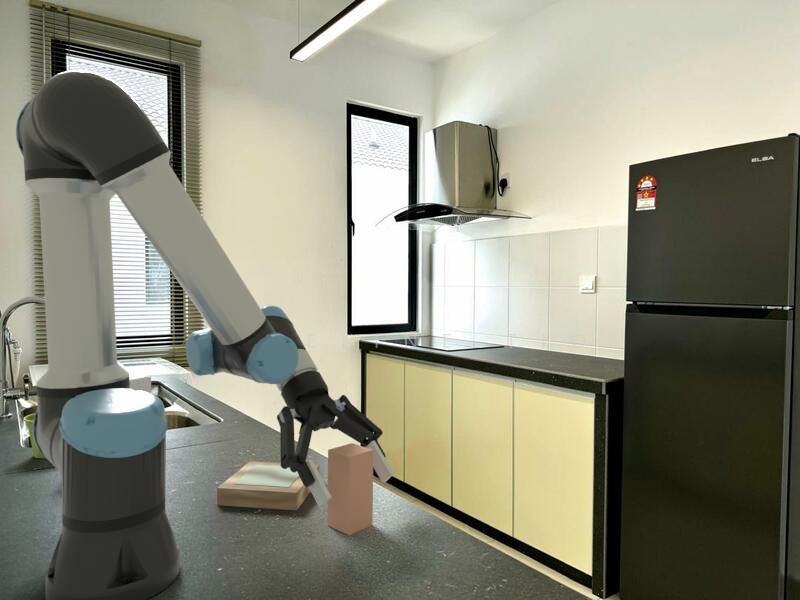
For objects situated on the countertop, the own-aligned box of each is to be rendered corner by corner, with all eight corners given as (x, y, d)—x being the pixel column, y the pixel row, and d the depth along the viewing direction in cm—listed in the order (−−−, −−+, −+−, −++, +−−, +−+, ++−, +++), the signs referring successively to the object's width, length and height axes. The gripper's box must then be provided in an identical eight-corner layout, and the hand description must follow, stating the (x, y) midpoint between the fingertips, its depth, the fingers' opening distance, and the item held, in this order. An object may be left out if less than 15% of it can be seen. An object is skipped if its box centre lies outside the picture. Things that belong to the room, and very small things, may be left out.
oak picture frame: (296, 510, 91) (296, 492, 91) (217, 505, 93) (217, 487, 93) (319, 480, 105) (319, 464, 105) (249, 476, 107) (249, 460, 107)
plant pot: (51, 463, 114) (51, 421, 113) (12, 460, 115) (12, 419, 115) (85, 449, 123) (84, 411, 123) (48, 447, 125) (48, 409, 124)
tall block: (349, 535, 83) (349, 456, 82) (327, 525, 86) (328, 449, 86) (372, 524, 86) (373, 449, 86) (350, 515, 90) (351, 443, 89)
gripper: (342, 385, 106) (399, 481, 97) (226, 406, 88) (282, 527, 78) (361, 361, 103) (422, 458, 93) (245, 377, 84) (306, 501, 75)
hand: (358, 490), depth 86 cm, fingers open, 13 cm apart
